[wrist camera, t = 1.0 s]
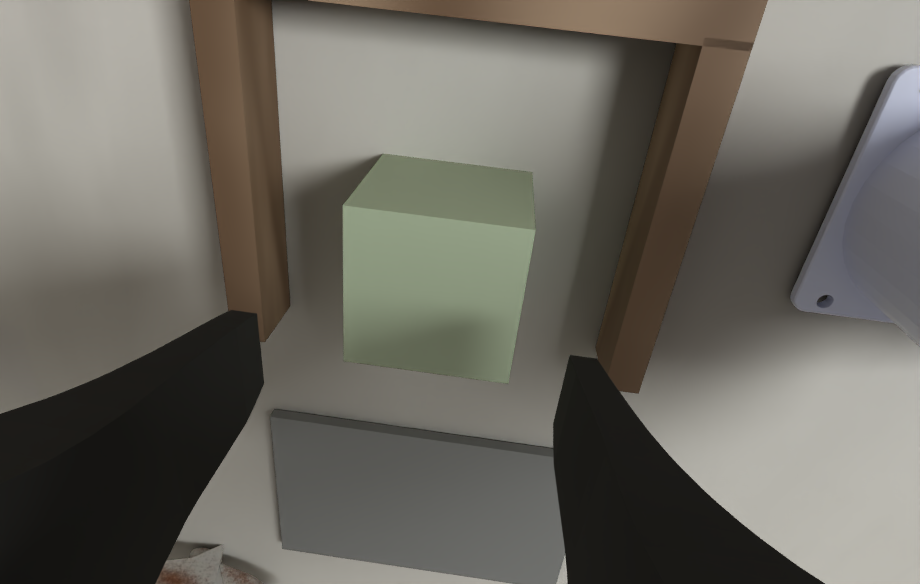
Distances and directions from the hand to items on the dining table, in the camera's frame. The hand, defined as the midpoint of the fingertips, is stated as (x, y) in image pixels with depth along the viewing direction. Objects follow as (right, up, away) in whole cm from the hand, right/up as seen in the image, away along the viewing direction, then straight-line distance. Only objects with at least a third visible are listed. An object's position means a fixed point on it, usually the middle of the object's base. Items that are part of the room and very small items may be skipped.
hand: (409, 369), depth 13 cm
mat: (-1, -8, +14) cm, 16 cm away
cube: (+1, +4, +7) cm, 8 cm away
